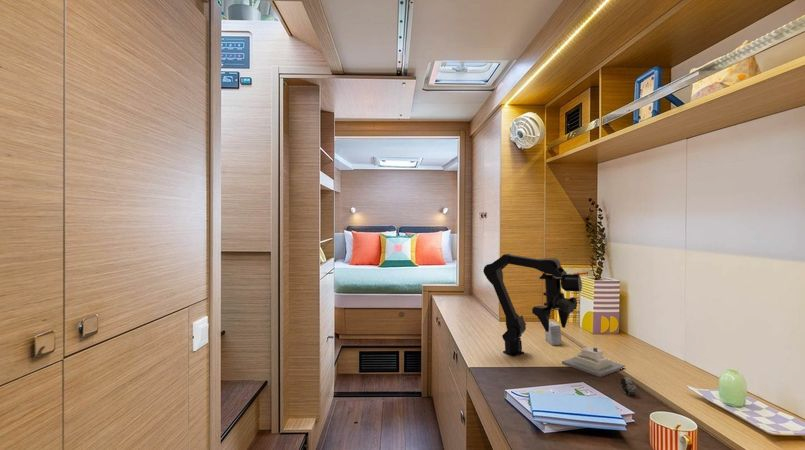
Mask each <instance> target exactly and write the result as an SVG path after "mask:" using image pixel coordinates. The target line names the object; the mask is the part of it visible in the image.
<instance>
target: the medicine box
mask: <svg viewBox="0 0 805 450" xmlns="http://www.w3.org/2000/svg"><path fill="white" fill-rule="evenodd" d="M544 333H545V341H546V342H548V343H549V344H550V345H551V346H562V343H563V342H562V333H561V325H560V324H558V323H556V322H555V321H549V332H546V330H545V329H544Z"/></svg>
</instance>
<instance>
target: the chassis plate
mask: <svg viewBox="0 0 805 450" xmlns="http://www.w3.org/2000/svg"><path fill="white" fill-rule="evenodd" d="M561 364H562V365H564V366H567V367H570V368H573V369H576V370H579V371H581V372H585V373H587V374H590V375H593V376H596V377H598V378H602V377H605V376H607V375H610V374H612V373H613V374H614V373H616V372H618V371H621V370H620V369H621V368H623V367H625V368H626V366H625V365H624V364H621V363H617V362H614V361H612V359H610V358H608V361H606V362H602V363H599V362H593V361H590V360H587V359H584V358H582V357H581V356H577V355H574V356H573V357H572V358H568V359H565V360H562V361H561Z"/></svg>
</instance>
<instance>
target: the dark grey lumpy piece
mask: <svg viewBox="0 0 805 450" xmlns="http://www.w3.org/2000/svg"><path fill="white" fill-rule="evenodd" d="M627 387H628V388H627ZM620 388H621V390H622V391H623V394H625V395H626V396H632V395H636V394H637V392H638V389H637V386H636V384H635V383H633V380H631V378H630V377H629V376H628V377H626V376H624V377H622V378H621V380H620Z"/></svg>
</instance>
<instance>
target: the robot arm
mask: <svg viewBox="0 0 805 450" xmlns="http://www.w3.org/2000/svg"><path fill="white" fill-rule="evenodd" d="M508 265H513V266H518V267H519V266H520V267H525V268H532V269H535V270H537V271H539V272H541V273H542V275H541V276H539V279H540V280H544V285H545V287H544V288H545V292H543V296H545V302H544V303H543V305H535V306H532V309H531V311H532V312H531V313H532V314H533V315H534V316H536V317H537V318H538V320H539V322H540V323H541V325H542V327H543V329H544V331H545V330H546V332H549V322H550V318H551V317H552V315H551V312H552V311H553V312H554V311H557V312H558V317H559V321H560V324H561V325H560V326H561V328H563V329H564V328H566V325H567V322H568V319H569V316H570V315H571V313H574V311H575V310H577V307H578V302H577V298H576V297H567V298H566V297H565V294H564V292H576V293H578V292H582V290H583V289H582V288H583V284H582V283H583V281H582V279H581V276H580V273H567V272H566V271H565V269H564V268H563V266H562V264H561V262H560V261H559V259H557V258H555V257H554V258H553V257H550V258H536V257H535V258H534V257H529V256H528V257H527V256H522V255H516V254H511V253H505V254H503V255H501V256H500V257H499V258H498V259H496V260H494V261H493V262H491V263H489V264H486V265H484V267H483V271H482V272H483V274H484V276H485V278H486V279H487V281H488V282H489V283H490V284H491V285H492V287H493V288H494V291H495V295H496V296H497V299H498V301H499V304H500V306H501V309H502V311H503V313H504V315H505V316H504V317H505V325H506V331H505V332H504V333H503V334H502V335H501V337H502V339H503V341H504V349H505V350H503V351H502V353H504V354H506V355H508V356H511V357H515V356H520V355H523V354H525V351H523V345H522V340H521V339H522V338H521V337H522V336H523V334H524V333H525V332H526V329H527V327H526V325H527V323H526V321H525V320H524V316H523V315H519V314H518V313H517V312H516V310H515V307H514V304H513V302H512V300H511V297H510V295H509V292H508V289H507V288H506V286H505V283H504V272H503V269H505V268H506V267H507V266H508ZM562 290H564V292H562Z"/></svg>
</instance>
